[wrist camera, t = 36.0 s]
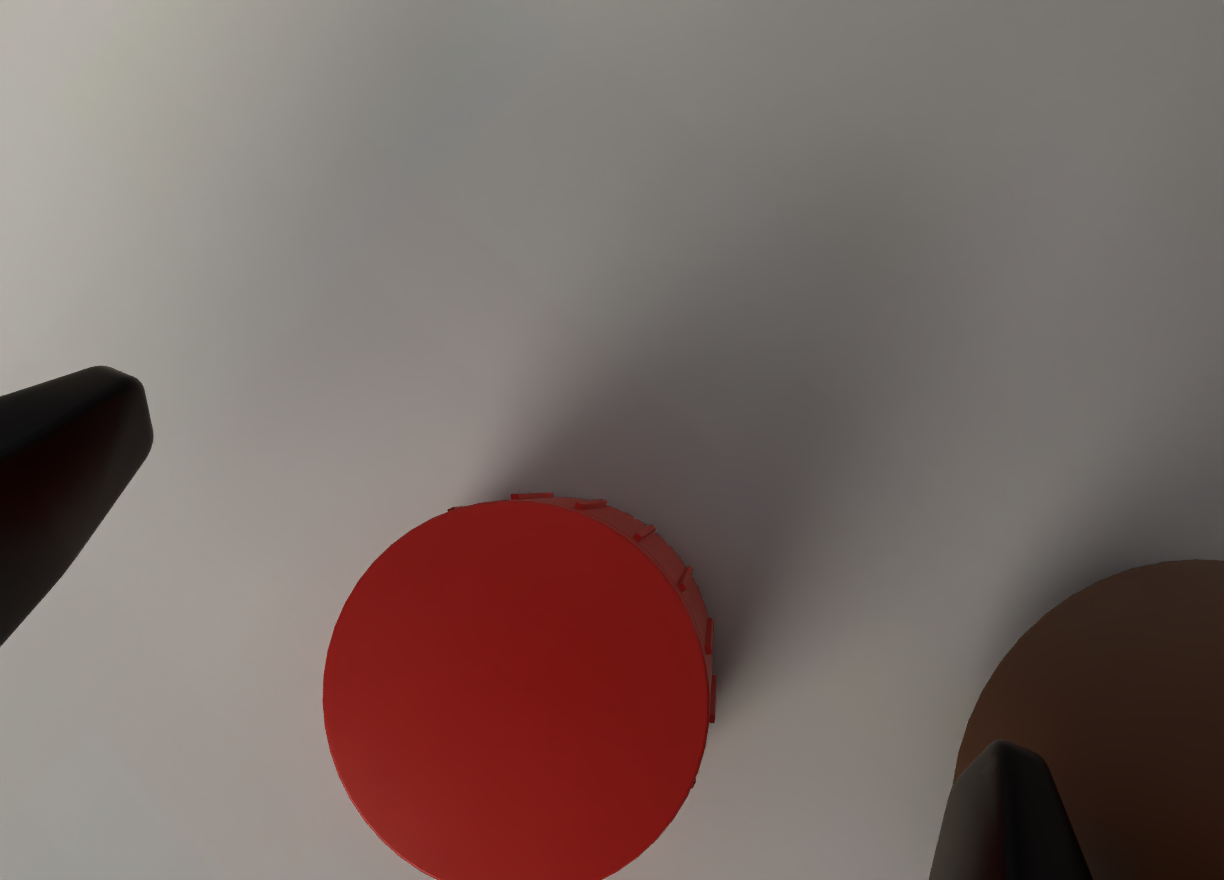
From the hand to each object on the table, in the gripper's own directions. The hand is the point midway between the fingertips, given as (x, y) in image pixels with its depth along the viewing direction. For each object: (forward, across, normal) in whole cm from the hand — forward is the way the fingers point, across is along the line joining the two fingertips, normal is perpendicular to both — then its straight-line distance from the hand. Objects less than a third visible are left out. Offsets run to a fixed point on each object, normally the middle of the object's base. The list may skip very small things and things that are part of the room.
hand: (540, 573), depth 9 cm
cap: (+2, 0, +4) cm, 4 cm away
